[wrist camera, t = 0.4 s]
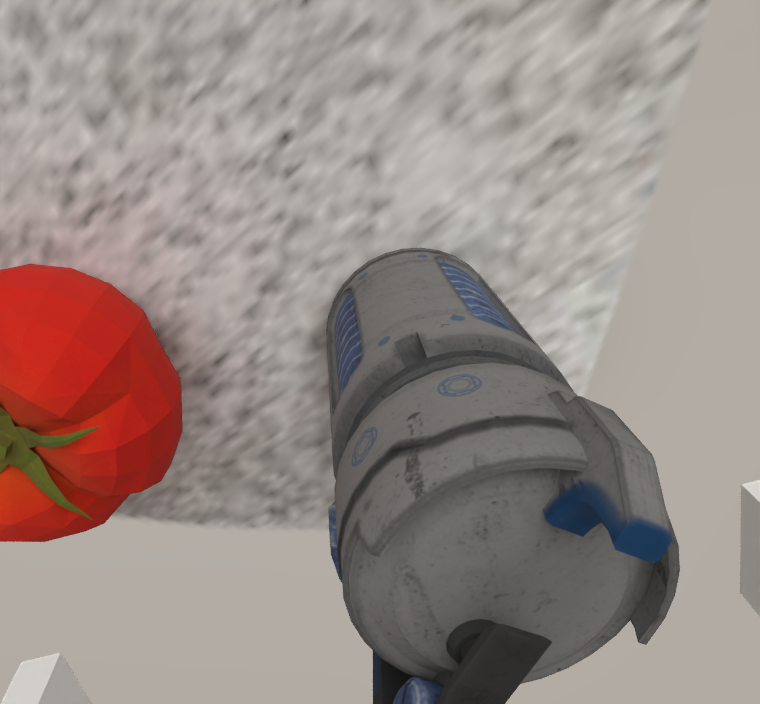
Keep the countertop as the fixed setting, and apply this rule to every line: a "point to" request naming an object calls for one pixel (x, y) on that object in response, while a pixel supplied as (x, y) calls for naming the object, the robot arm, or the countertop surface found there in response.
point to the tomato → (78, 402)
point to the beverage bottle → (479, 492)
